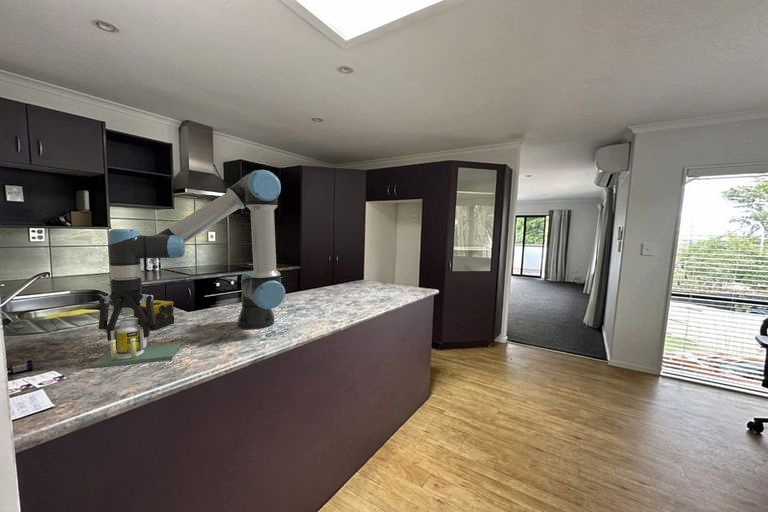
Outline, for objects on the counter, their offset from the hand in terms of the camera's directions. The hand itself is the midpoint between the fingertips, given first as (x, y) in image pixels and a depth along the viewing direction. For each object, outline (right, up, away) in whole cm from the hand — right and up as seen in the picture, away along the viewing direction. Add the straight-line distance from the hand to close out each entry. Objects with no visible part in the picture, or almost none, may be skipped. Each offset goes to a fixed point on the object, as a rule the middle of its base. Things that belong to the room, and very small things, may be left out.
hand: (129, 348), depth 99 cm
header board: (+3, -3, +1) cm, 4 cm away
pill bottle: (0, -2, 0) cm, 2 cm away
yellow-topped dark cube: (-15, 0, +31) cm, 34 cm away
